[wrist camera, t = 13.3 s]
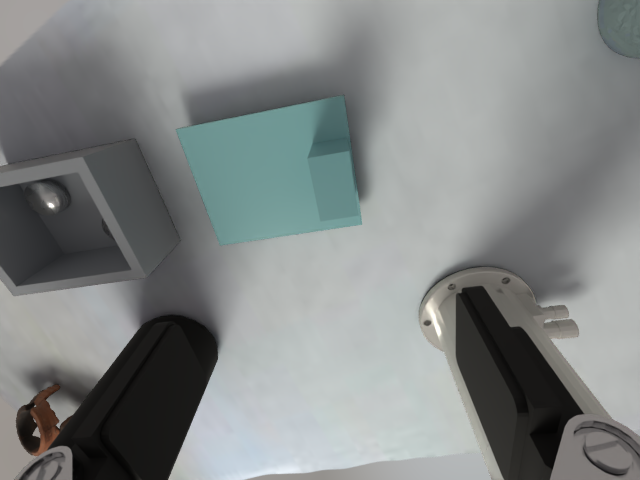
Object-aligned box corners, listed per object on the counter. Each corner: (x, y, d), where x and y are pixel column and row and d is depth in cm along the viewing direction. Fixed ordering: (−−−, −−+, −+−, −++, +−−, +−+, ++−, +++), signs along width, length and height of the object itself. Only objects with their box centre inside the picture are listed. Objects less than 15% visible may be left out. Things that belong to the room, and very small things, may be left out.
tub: (135, 138, 30) (82, 156, 24) (180, 240, 35) (146, 277, 29) (7, 164, 32) (-72, 187, 26) (68, 258, 37) (13, 296, 31)
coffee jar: (123, 322, 41) (-11, 481, 25) (194, 301, 39) (96, 462, 23) (169, 376, 46) (80, 539, 30) (235, 360, 44) (176, 528, 28)
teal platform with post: (343, 93, 27) (345, 101, 21) (360, 214, 33) (366, 250, 26) (187, 125, 29) (144, 141, 23) (227, 234, 35) (201, 273, 28)
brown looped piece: (80, 425, 54) (17, 460, 46) (70, 370, 54) (6, 396, 46) (126, 434, 49) (65, 474, 41) (116, 373, 49) (52, 403, 41)
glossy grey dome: (59, 176, 31) (46, 181, 30) (77, 206, 32) (65, 212, 31) (31, 181, 31) (17, 187, 30) (50, 211, 33) (37, 217, 31)
